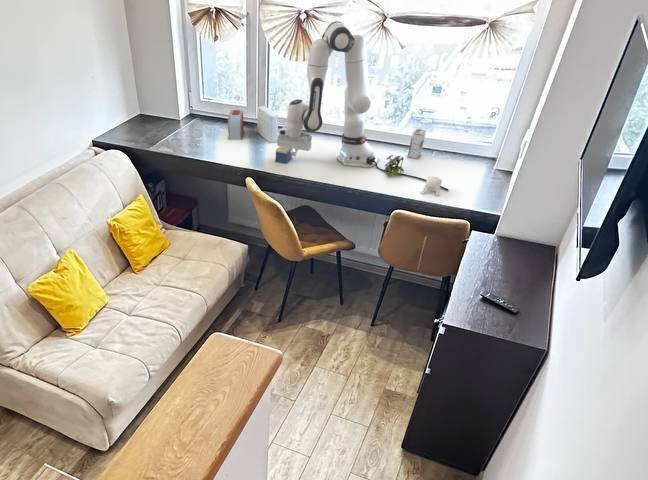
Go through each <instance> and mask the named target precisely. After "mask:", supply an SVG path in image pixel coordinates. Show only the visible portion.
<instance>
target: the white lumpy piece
mask: <svg viewBox="0 0 648 480" xmlns="http://www.w3.org/2000/svg"><path fill="white" fill-rule="evenodd" d="M426 180H427V181H425V185H424V187H423V189H422V191H421V194H424V193H426V191H430V192H434V191H435V195H436V196H439V195H440V191H439V190H440V189H441V187H440V186H442V182H443V179H442V178H440V177H437V176H427V177H426Z"/></svg>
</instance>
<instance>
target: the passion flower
mask: <svg viewBox="0 0 648 480" xmlns="http://www.w3.org/2000/svg"><path fill="white" fill-rule="evenodd" d="M393 156H394V155H393V154H391V155H389V156H387V158H386V159H385V160H386V161H388V160H389V161H388V162H387V163H385V164H384V169H383V170H387V171H389V172H387V176H388V177H390V176H391V177H393V176H396V175H398V174H397V173H401V174H402V172H403V173H404V172H405V170H404V168H403V167H402V165H403V163H404V162H403V161H404V156H401V155H396V156H395V157H393ZM392 157H393V158H392ZM399 165H400V166H399ZM391 172H392V173H391Z"/></svg>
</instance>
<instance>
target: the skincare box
mask: <svg viewBox="0 0 648 480" xmlns="http://www.w3.org/2000/svg"><path fill="white" fill-rule="evenodd" d="M256 112H257V113H256V114H257V115H256V117H257V119H256V133H257V134H258V135H260V136H261V137H263V139H265V140H266V141H268V142H269V143H277V138H278V135H279V114H277V113H276V112H274V111H273V110H272V109H270V108H268V107H267V106H265V105H261V106H260V105H259V106H257V111H256Z"/></svg>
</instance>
